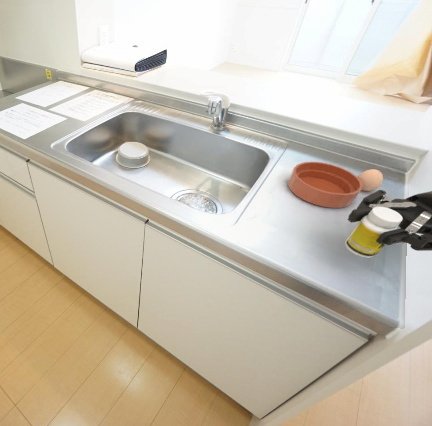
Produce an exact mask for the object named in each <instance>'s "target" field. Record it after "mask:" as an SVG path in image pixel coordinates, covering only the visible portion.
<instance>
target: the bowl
mask: <svg viewBox="0 0 432 426" xmlns="http://www.w3.org/2000/svg"><path fill="white" fill-rule="evenodd" d="M287 186H288V188H289V191H291V192H292V193H293V194H294V195H295V196H297V197H298V198H300V199H302V200H303V201H305V202H308V203H310V204H313V205H316V206H320V207H324V208H334V209H339V208H346V207H348V206H350V205H352V204H353V203H354V202H355V200H356V199H357V197H358V195H359V194H360V193H361V191H363V190H362V188H363V185H362V182H361V180H360V179H359V178H358V176H357V175H356V174H354V173H353V172H351V171H350V170H347V169H345V168H343V167H341V166H338V165H335V164H332V163H327V162H321V161H305V162H303V161H302V162H300V163H298V164H296V165H295V166H294V167H293V169H292V171H291V173H290V176H289V178H288V180H287Z"/></svg>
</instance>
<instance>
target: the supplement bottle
mask: <svg viewBox="0 0 432 426" xmlns="http://www.w3.org/2000/svg"><path fill="white" fill-rule="evenodd" d="M402 219H403V218H402V216H401V215H400V214H399V213H398V212H396V211H394V210H392V209H389V208H386V207H374V208H373V209H372V210H371V211H370V213H369V214H368V215H366V216H364V217H363V218H362V219H361V220H360V221H358V223H357V224H356V226H355V228H353V230H352V231H351V233H350V234H349V236H348V237H347V238H346V239H345V242H344V245H345V247H346V249H347V250H348V251H349V252H350V253H352V254H353V255H356V256H358V257H362V258H366V259H369V258H374V257H376V256H377V255H378V254H379V252H380V251H381V250H382V249H383V247H384V246H385V245H386V244H379V243H377V242H376V240H377V239H378V237H379V236H380V235H381V234H382V233H384V232H387V231H391V230H396V229H398V227H399V226H398V225H399V224H400V223H401V221H402Z"/></svg>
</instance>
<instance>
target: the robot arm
mask: <svg viewBox="0 0 432 426" xmlns="http://www.w3.org/2000/svg"><path fill="white" fill-rule="evenodd" d="M386 194H387V192H386V190H383V189H378V190H375V192H372V193H370V194H368V195H367V196H365V197H363V198H362V200H361V201H360V203H359V204H358V206H357V207H356V208H355V209H352V210H351V212H350V214H349V215H348V218H347V221H348V222H349V223H351V224H353V223H357V222H358V223H359V222H360V220H361V219H362V218H363V217H364V216H366V215H368V214H369V213H370V211H371V210H372V209H373V208H374V207H386V208H389V209H392V210H394V211H396V212H398V213H399V214H400V215H401V216H402V218H403V219H402V221H401V223H400V224H399V225H398V226H397V227H398V228H397V229H396V230H391V231H387V232H384V233H382V234H381V235H380V236H379V237H378V239H377V240H376V242H377V243H379V244H385V245H386V246H392V245H396V244H408V245H410V246H409V247H410V249H412V250H414V251H418V252H419V251H421V252H423V251H425V252H428V251H432V190H430V191H425V192H420V193H416V194H413V195H411V196H409V197H406V198H394V199H393V198H390V197H389V196H387V195H386Z"/></svg>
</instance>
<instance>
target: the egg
mask: <svg viewBox="0 0 432 426" xmlns="http://www.w3.org/2000/svg"><path fill="white" fill-rule="evenodd" d="M357 177H358V178H359V179H360V180H361V182H362V185H363V188H362V190H361V191H365V192H371V191H374V190H375V191H376V190H377V189H378V188H380V187H381V185H382V184H383V181H384V176H383V173H382V172H381V171H380V170H378V169H373V168H371V169H367V170H364V171H362V172H361V173H360V174H359V175H358V176H357Z"/></svg>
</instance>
